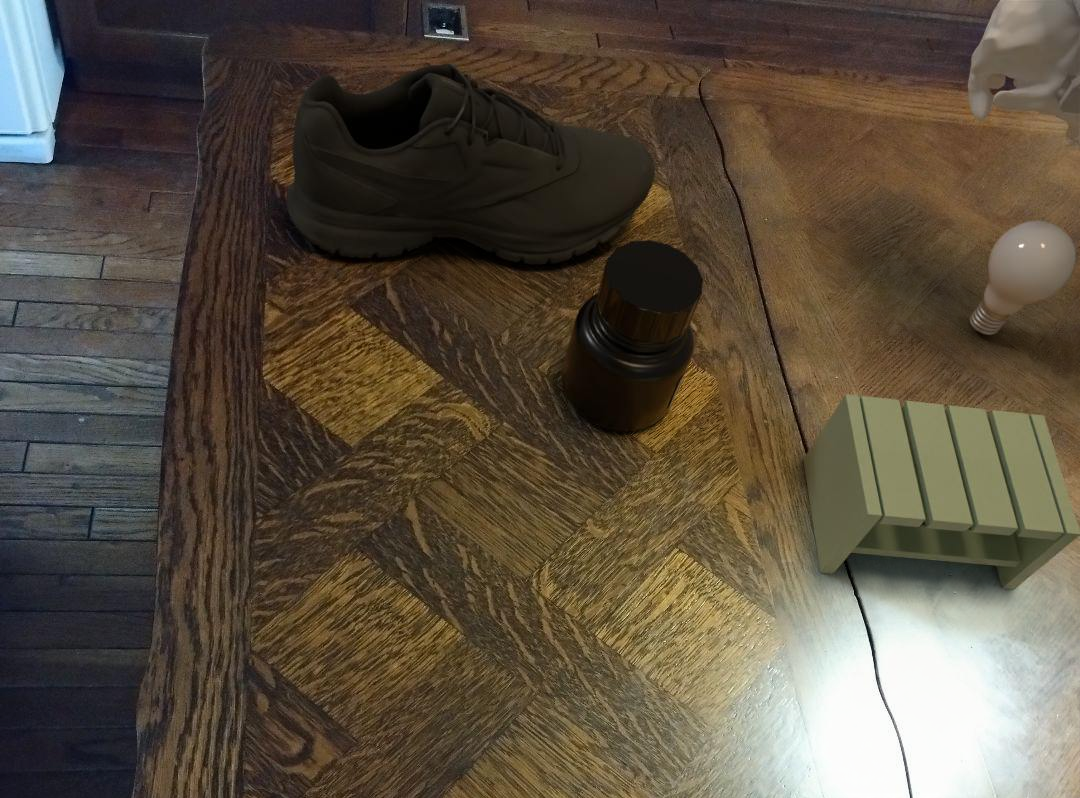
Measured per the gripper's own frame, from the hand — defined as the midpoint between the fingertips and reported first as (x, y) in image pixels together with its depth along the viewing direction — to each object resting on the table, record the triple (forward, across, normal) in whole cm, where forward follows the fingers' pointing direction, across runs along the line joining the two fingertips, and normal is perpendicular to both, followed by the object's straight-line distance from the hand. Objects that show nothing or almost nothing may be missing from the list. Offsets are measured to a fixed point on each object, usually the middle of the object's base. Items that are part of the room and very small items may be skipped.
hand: (1052, 70), depth 70 cm
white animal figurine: (+4, 0, 0) cm, 4 cm away
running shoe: (+22, 0, +39) cm, 45 cm away
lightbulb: (+21, -4, -6) cm, 23 cm away
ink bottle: (+22, -15, +27) cm, 38 cm away
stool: (+21, -25, +5) cm, 33 cm away
